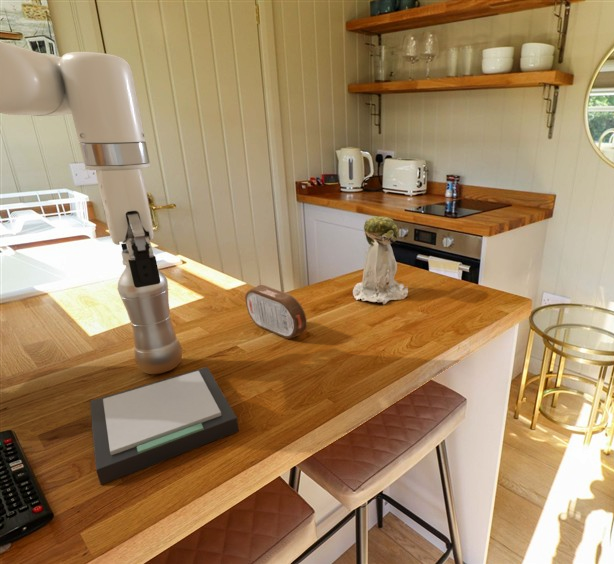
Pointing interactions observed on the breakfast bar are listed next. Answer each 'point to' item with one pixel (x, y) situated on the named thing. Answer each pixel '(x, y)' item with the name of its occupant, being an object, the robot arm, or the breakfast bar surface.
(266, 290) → the tin
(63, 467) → the breakfast bar surface
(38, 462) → the breakfast bar surface
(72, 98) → the robot arm
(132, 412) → the scale
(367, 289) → the draped concrete planter
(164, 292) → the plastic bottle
